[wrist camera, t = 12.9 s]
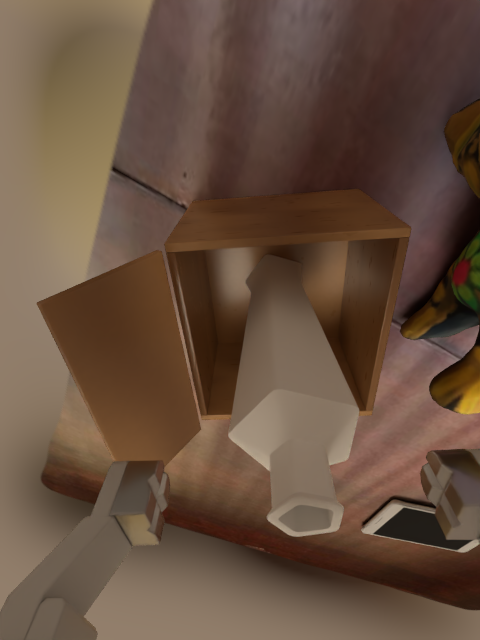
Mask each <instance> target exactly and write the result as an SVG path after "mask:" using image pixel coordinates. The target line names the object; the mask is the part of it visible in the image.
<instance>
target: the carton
mask: <svg viewBox="0 0 480 640" xmlns="http://www.w3.org/2000/svg"><path fill="white" fill-rule="evenodd" d="M410 233H411V227H410V226H409V225H407V224H406V223H405V222H403V221H402V220H401V219H399V218H398V217H396V216H395V215H394V214H392V213H391V212H390V211H388V210H387V209H386V208H384V207H383V206H381V205H380V204H379V203H377V202H376V201H375V200H373V199H372V198H371V197H369V196H368V195H367V194H365V193H364V192H362V191H361V190H360V189H348V190H335V191H321V192H308V193H294V194H281V195H267V196H254V197H241V198H227V199H214V200H200V201H192V203H191V204H190V206H189V207H188V209H187V210H186V212H185V213H184V215H183V216H182V218H181V219H180V221H179V222H178V224H177V225H176V227H175V228H174V230H173V231H172V233H171V234H170V236H169V237H168V239H167V241H166V242H165V244H164V245H165V250H166V252H167V253H166V255H167V259H168V264H169V269H170V273H171V278H172V283H173V287H174V292H175V297H176V301H177V306H178V311H179V315H180V320H181V325H182V329H183V334H184V339H185V344H186V348H187V353H188V358H189V362H190V367H191V372H192V376H193V381H194V386H195V390H196V395H197V400H198V404H199V409H200V414H201V418H202V420H216V419H231V415H232V409H233V403H234V396H235V390H236V384H237V378H238V372H239V365H240V359H241V353H242V347H243V341H244V334H245V328H246V322H247V316H248V310H249V303H250V297H251V292H250V290H249V288H248V287H247V285H246V279H247V278H248V277H249V275H250V274H251V273H252V271H253V270H254V269H255V267H256V266H257V265H258V263H259V262H260V261H261V259H262V258H263V257H264V256H265V255H267V254H270V255H274V256H277V257H281V258H284V259H288V260H291V261H295V262H299V263H301V265H302V277H301V283H302V285H303V288H304V290H305V292H306V294H307V296H308V299H309V301H310V303H311V305H312V307H313V310H314V312H315V314H316V316H317V318H318V320H319V323H320V325H321V327H322V329H323V331H324V334H325V336H326V338H327V340H328V342H329V345H330V347H331V349H332V351H333V353H334V356H335V358H336V360H337V362H338V364H339V366H340V369H341V371H342V373H343V375H344V377H345V380H346V382H347V384H348V386H349V388H350V391H351V393H352V395H353V397H354V399H355V402H356V404H357V406H358V408H359V416H369V415H372V410H373V406H374V401H375V397H376V392H377V387H378V382H379V378H380V373H381V368H382V364H383V359H384V354H385V350H386V345H387V340H388V336H389V331H390V326H391V322H392V317H393V312H394V308H395V303H396V298H397V293H398V289H399V284H400V279H401V275H402V270H403V265H404V261H405V256H406V251H407V247H408V242H409V237H410Z"/></svg>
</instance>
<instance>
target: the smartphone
mask: <svg viewBox="0 0 480 640" xmlns="http://www.w3.org/2000/svg"><path fill="white" fill-rule="evenodd" d="M435 511H436V508H433V507H428V506H424V505H419V504H414V503H409V502H405V501H400V500H395V499H394V500H392V501H390V502H389V503H388V504H387V505H386V506H385V507H384V508H383V509H382V510H381V511H379V512H378V513H377V514H376V515H375V516H374V517H373V518H372V519H371V520H369V521H368V522H367V523H366V524H365V525H364V526H363V527H362V529H361V530H362V532H363V533H366V534H371V535H376V536H381V537H387V538H392V539H397V540H402V541H407V542H412V543H417V544H423V545H428V546H433V547H438V548H443V549H448V550H453V551H458V552H467V551H469V550H470V549H472V548H474V547H475V546H477V545H479V544H480V543H479V542H478V541H479V540H446V538H445V535H444V533H443V531H442V529H441V527H440V525H439V523H438V521H437V518H436V516H435Z"/></svg>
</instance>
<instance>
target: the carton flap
mask: <svg viewBox="0 0 480 640" xmlns="http://www.w3.org/2000/svg"><path fill="white" fill-rule="evenodd" d="M37 305H38V307H39V309H40V311H41V313H42V315H43V318H44V319H45V322H46V324H47V326H48V328H49V330H50V332H51V334H52V336H53V338H54V340H55V342H56V344H57V346H58V348H59V350H60V352H61V354H62V356H63V359H64V361H65V362H66V365H67V367H68V369H69V371H70V373H71V375H72V377H73V379H74V381H75V383H76V385H77V387H78V389H79V391H80V393H81V395H82V397H83V400H84V402H85V404H86V406H87V408H88V410H89V412H90V414H91V416H92V418H93V420H94V422H95V424H96V426H97V428H98V430H99V432H100V434H101V436H102V438H103V441H104V443H105V445H106V447H107V449H108V451H109V453H110V455H111V457H112V459H113V461H148V460H162V461H163V463H164V466H166V465H167V464H168V463H169V462H170V461H171V460H172V459H173V458H174V457H175V456H176V455H177V454H178V453H179V451H180V450H181V449H182V448H183V447H184V446H185V445H186V444H187V443H188V442H189V441H190V440H191V439H192V438H193V437H194V436H195V435H196V434H197V433H198V432H199V431H200V430H201V427H200V423H199V418H198V414H197V409H196V405H195V400H194V396H193V391H192V387H191V382H190V378H189V373H188V368H187V364H186V359H185V355H184V350H183V346H182V341H181V337H180V332H179V328H178V323H177V319H176V314H175V310H174V305H173V301H172V296H171V292H170V287H169V282H168V278H167V273H166V269H165V264H164V260H163V255H162V251H158V250H156V251H154V252H151V253H149V254H147V255H145V256H142V257H140V258H138V259H135V260H133V261H131V262H129V263H126V264H124V265H122V266H119V267H117V268H115V269H113V270H110V271H108V272H106V273H103V274H101V275H99V276H97V277H94V278H92V279H90V280H87V281H85V282H83V283H81V284H78V285H76V286H74V287H72V288H69V289H67V290H65V291H63V292H60V293H58V294H56V295H53V296H51V297H49V298H46V299H44V300H42V301H39V302H37Z"/></svg>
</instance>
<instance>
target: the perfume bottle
mask: <svg viewBox="0 0 480 640" xmlns="http://www.w3.org/2000/svg"><path fill="white" fill-rule="evenodd" d="M301 277H302V265H301V263H299V262H295V261H291V260H288V259H284V258H281V257H277V256H274V255H270V254H267V255H265V256H264V257H263V258H262V259H261V261H260V262H259V263H258V265H257V266H256V267H255V269H254V270H253V271H252V273H251V274H250V275H249V277H248V278H247V279H246V285H247V287H248V288H249V290H250V292H251V297H250V303H249V310H248V316H247V322H246V328H245V334H244V341H243V347H242V353H241V359H240V365H239V372H238V378H237V384H236V390H235V396H234V403H233V409H232V415H231V421H230V427H229V434H228V436H229V438H230V439H231V440H232V441H233V442H234V443H236V444H237V445H238V446H239V447H241V448H242V449H243V450H244V451H246V452H247V453H248V454H249V455H250V456H252V457H253V458H254V459H255V460H257V461H258V462H259V463H260V464H262V465H263V466H264V467H265V468H266V469H268V470H269V471H270V477H271V498H272V509H271V511H270V512H269V513H268V515H267V519H268V520H269V521H270V522H271V523H272V524H274V525H275V526H277V527H278V528H279V529H281V530H282V531H284V532H285V533H286V534H288V535H290V536H294V537H297V536H307V535H314V534H322V533H329V532H334V531H336V530H338V529H339V527H340V524H341V520H342V516H343V512H344V507H343V505H341V504H340V503H339V502H338V501H337V499H336V494H335V489H334V485H333V480H332V475H331V471H330V466H329V465H332V464H336V463H340V462H343V461H346V460H347V459H348V457H349V454H350V450H351V446H352V441H353V437H354V433H355V429H356V424H357V420H358V416H359V408H358V406H357V404H356V402H355V399H354V397H353V395H352V393H351V391H350V388H349V386H348V384H347V382H346V380H345V377H344V375H343V373H342V371H341V369H340V366H339V364H338V362H337V360H336V358H335V356H334V353H333V351H332V349H331V347H330V345H329V342H328V340H327V338H326V336H325V334H324V331H323V329H322V327H321V325H320V323H319V320H318V318H317V316H316V314H315V312H314V310H313V307H312V305H311V303H310V301H309V299H308V296H307V294H306V292H305V290H304V288H303V285H302V283H301Z"/></svg>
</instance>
